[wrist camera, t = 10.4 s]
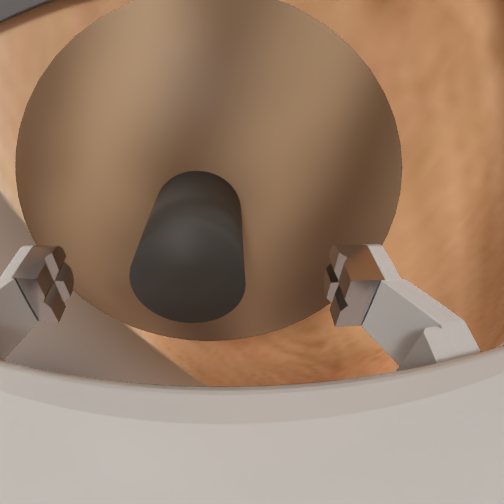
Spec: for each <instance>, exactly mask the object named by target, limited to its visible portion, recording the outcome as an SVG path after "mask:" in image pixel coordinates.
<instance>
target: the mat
mask: <svg viewBox="0 0 504 504" xmlns="http://www.w3.org/2000/svg"><path fill="white" fill-rule="evenodd" d="M50 1H53V0H0V23H1V22H3V21H5V20H7V19H9V18H11V17H13V16H16V15H18V14H20V13H23V12H25V11H27V10H30V9H32V8H35V7H37V6H40V5H42V4H45V3H48V2H50Z"/></svg>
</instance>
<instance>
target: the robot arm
mask: <svg viewBox="0 0 504 504" xmlns="http://www.w3.org/2000/svg"><path fill="white" fill-rule="evenodd" d="M329 258H330V261H331V264H330V265H329V266H327V267H326V270H325V274H324V291H325V295H326V298H327V299H328V300H329V301H330V302H332V304H331V308H330V312H331V315H332V318H333V322H334V325H335V327H344V326H362V328H363V329H364V330H365V331H366V332H367V333H368V334H369V335H370V336H371V337H372V338H373V339H374V340H375V341H376V342H377V343H378V344H379V345H380V346H381V347H382V348H383V349H384V350H385V351H386V352H387V353H388V354H389V356H390V357H391V358H392V359H393V360H394V361H395V362H396V363H397V364H398V365H399V368H398V369H397V370H396V372H390V373H384V374H378V375H371V376H364V377H357V378H349V379H341V380H332V381H323V382H312V383H300V384H286V385H267V386H230V387H213V386H175V385H157V384H143V383H132V382H122V381H112V380H104V379H97V378H89V377H82V376H75V375H69V374H63V373H58V372H52V371H47V370H41V369H36V368H32V367H27V366H23V365H18V364H14V363H9V362H7V361H6V360H5V358H6V357H7V356H8V355H9V354H10V353H11V351H12V350H13V349H14V348H15V347H16V346H17V345H18V344H19V343H20V342H21V340H22V339H23V338H24V337H25V336H26V335H27V334H28V333H29V332H30V331H31V330H32V329H33V328H34V326H35V325H37V323H38V321H44V322H56V323H59V321H60V319H61V317H62V314H63V312H64V309H65V307H66V306H65V303H64V301H65V300H66V299H67V298H69V297H70V296H71V293H72V291H73V286H74V277H73V272H72V270H71V267H69V266H68V265H67V264H66V263H65V259H66V254H65V252H64V249H63V248H62V247H60V246H49V245H36V246H34V245H26V246H23V247H21V248H20V249H19V251H18V252H17V253H16V255H15V256H14V258H13V259H12V261H11V262H10V264H9V265H8V266H7V268H6V269H5V271H4V273H3V274H2V276H1V277H0V504H504V345H503V346H500V347H496V348H493V349H490V350H486V351H483V352H481V351H480V349H479V347H478V345H477V343H476V341H475V340H474V338H473V336H472V334H471V332H470V330H469V328H468V327H467V325H466V323H465V321H464V320H463V319H461V318H460V317H459V316H457V315H456V314H454V313H453V312H452V311H450V310H449V309H448V308H446V307H445V306H443V305H442V304H441V303H439V302H438V301H436V300H435V299H433V298H432V297H431V296H429V295H428V294H426V293H425V292H424V291H422V290H421V289H419V288H418V287H416V286H415V285H413V284H412V283H410V282H409V281H408V280H406V279H401V278H400V276H399V274H398V272H397V270H396V269H395V267H394V265H393V263H392V262H391V260H390V258H389V257H388V255H387V253H386V251H385V250H384V248H383V246H381V245H380V244H364V245H333V246H332V247H331V249H330V253H329Z"/></svg>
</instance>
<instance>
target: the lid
mask: <svg viewBox="0 0 504 504" xmlns="http://www.w3.org/2000/svg"><path fill="white" fill-rule="evenodd" d="M401 177H402V158H401V145H400V140H399V135H398V131H397V126H396V122H395V118H394V116H393V113H392V110H391V108H390V105H389V103H388V101H387V98H386V96H385V93H384V92H383V90H382V88H381V86H380V85H379V83H378V81H377V80H376V78H375V76H374V75H373V73H372V72H371V70H370V68H369V67H368V66H367V65H366V64H365V62H364V61H363V60H362V59H361V58H360V56H359V55H358V54H357V53H356V52H355V51H354V50H353V48H352V47H351V46H350V45H349V44H348V43H347V42H345V41H344V40H343V39H342V38H341V37H340V36H338V35H337V34H336V33H335V32H334V31H332V30H331V29H330V28H329V27H328V26H326V25H325V24H323V23H322V22H320V21H319V20H317V19H315V18H314V17H312V16H310V15H308V14H307V13H305V12H303V11H302V10H300V9H298V8H296V7H294V6H291V5H289V4H286V3H284V2H281V1H278V0H136V1H133V2H130V3H128V4H126V5H124V6H122V7H120V8H118V9H116V10H114V11H112V12H110V13H108V14H106V15H104V16H102V17H101V18H99V19H98V20H96V21H95V22H94V23H92V24H91V25H89V26H88V27H87V28H85V29H84V30H83V31H81V32H80V33H79V34H78V35H76V36H75V37H74V38H73V39H72V40H71V41H70V42H69V43H68V44H67V45H66V46H65V47H64V48H63V49H62V50H61V51H60V52H59V53H58V54H57V56H56V57H55V58H54V59H53V61H52V62H51V63H50V65H49V66H48V68H47V69H46V70H45V72H44V73H43V75H42V76H41V78H40V79H39V81H38V83H37V85H36V87H35V89H34V91H33V93H32V95H31V97H30V99H29V101H28V103H27V106H26V109H25V112H24V115H23V118H22V122H21V125H20V129H19V134H18V141H17V147H16V182H17V190H18V197H19V201H20V205H21V208H22V212H23V216H24V219H25V221H26V224H27V226H28V229H29V231H30V233H31V236H32V238H33V239H34V241H35V243H36V245H49V246H60V247H62V248H63V249H64V252H65V254H66V259H65V263H66V264H67V265H68V266H69V267H71V270H72V272H73V277H74V286H73V291H75V292H76V293H77V294H78V295H79V296H80V297H82V298H83V299H84V300H85V301H87V302H89V303H90V304H91V305H93V306H94V307H95V308H97V309H98V310H100V311H102V312H104V313H105V314H107V315H109V316H111V317H113V318H114V319H116V320H119V321H121V322H123V323H125V324H128V325H130V326H132V327H135V328H138V329H141V330H144V331H147V332H150V333H154V334H158V335H162V336H167V337H172V338H179V339H186V340H200V341H219V340H233V339H241V338H248V337H252V336H257V335H261V334H266V333H269V332H272V331H275V330H278V329H281V328H284V327H287V326H289V325H291V324H294V323H296V322H298V321H301V320H303V319H305V318H307V317H308V316H310V315H312V314H314V313H316V312H317V311H319V310H321V309H322V308H324V307H325V306H326V305H328V304H329V303H331V302H330V301H329V300H328V299H327V298H326V295H325V291H324V274H325V270H326V267H327V266H329V265H330V264H331V261H330V258H329V253H330V249H331V247H332V246H333V245H364V244H380V245H381V246H382V244H383V242H384V240H385V238H386V236H387V234H388V232H389V229H390V227H391V224H392V221H393V219H394V216H395V213H396V209H397V204H398V200H399V196H400V190H401Z"/></svg>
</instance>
